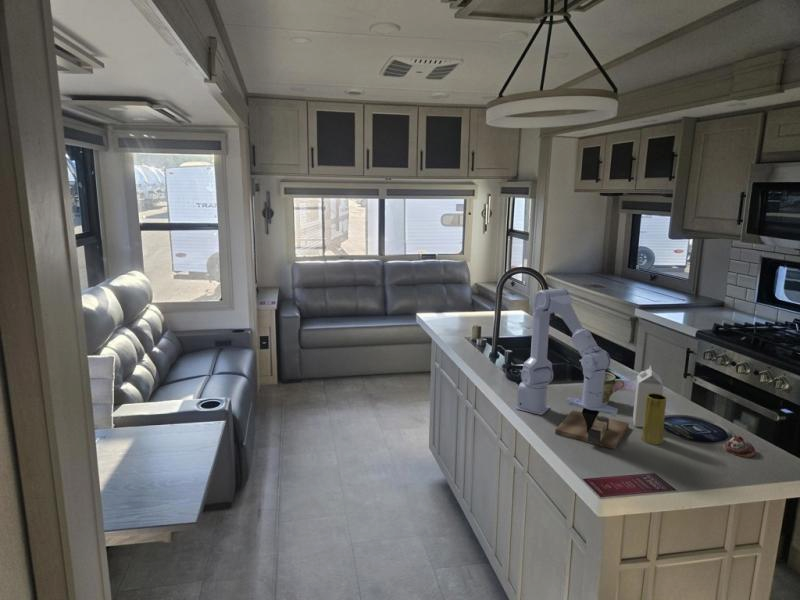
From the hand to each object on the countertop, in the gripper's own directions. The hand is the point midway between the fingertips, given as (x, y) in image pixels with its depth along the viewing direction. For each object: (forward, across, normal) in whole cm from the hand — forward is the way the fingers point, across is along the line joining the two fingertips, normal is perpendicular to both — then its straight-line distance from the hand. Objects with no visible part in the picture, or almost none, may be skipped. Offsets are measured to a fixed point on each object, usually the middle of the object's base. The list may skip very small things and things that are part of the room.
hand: (589, 431), depth 167 cm
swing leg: (+1, -2, -2) cm, 3 cm away
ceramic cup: (+3, +4, -32) cm, 32 cm away
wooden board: (+3, +1, -7) cm, 8 cm away
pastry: (+3, -38, -18) cm, 43 cm away
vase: (+3, -16, -11) cm, 20 cm away
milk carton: (+3, -12, -22) cm, 25 cm away
